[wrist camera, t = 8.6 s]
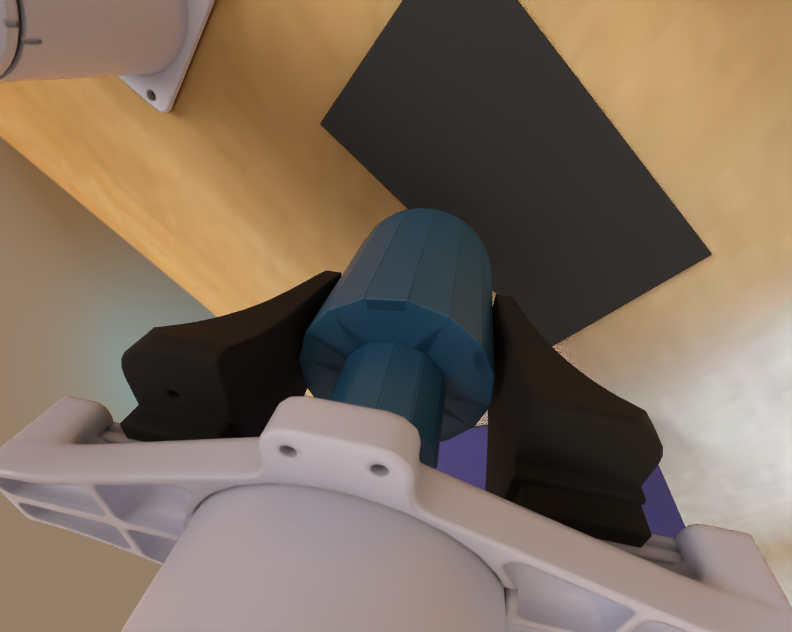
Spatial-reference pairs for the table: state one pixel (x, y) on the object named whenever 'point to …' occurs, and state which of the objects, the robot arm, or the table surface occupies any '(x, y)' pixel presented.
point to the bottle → (410, 328)
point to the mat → (512, 159)
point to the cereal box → (469, 465)
